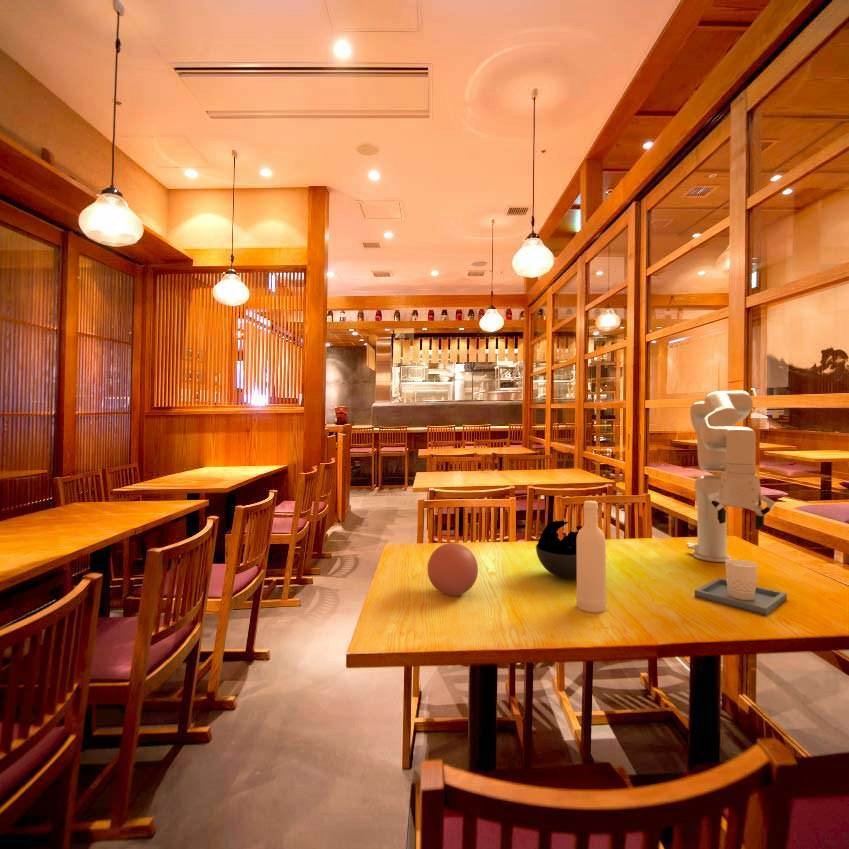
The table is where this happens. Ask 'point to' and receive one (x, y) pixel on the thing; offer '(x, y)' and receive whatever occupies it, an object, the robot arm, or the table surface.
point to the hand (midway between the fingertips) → (740, 525)
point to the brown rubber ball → (452, 569)
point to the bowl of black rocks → (558, 551)
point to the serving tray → (760, 605)
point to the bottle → (591, 562)
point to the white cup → (741, 578)
